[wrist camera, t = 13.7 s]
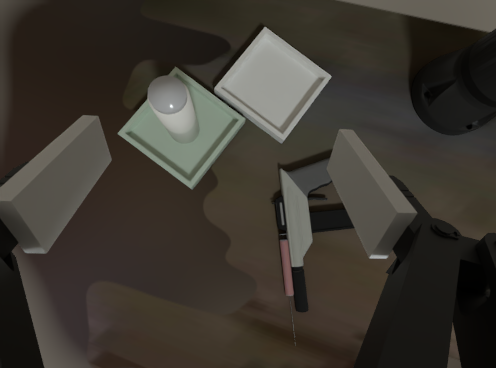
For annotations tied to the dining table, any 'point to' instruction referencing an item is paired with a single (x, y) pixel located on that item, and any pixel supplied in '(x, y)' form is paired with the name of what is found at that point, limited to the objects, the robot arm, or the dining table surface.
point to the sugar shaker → (174, 108)
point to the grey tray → (272, 84)
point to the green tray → (191, 154)
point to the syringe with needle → (303, 223)
